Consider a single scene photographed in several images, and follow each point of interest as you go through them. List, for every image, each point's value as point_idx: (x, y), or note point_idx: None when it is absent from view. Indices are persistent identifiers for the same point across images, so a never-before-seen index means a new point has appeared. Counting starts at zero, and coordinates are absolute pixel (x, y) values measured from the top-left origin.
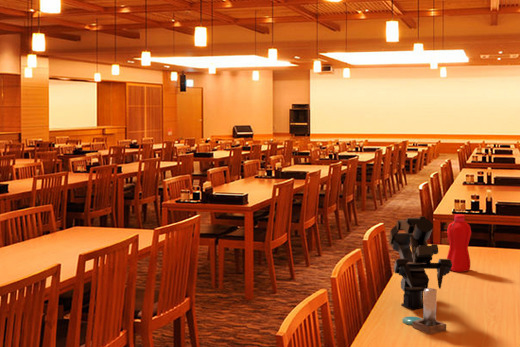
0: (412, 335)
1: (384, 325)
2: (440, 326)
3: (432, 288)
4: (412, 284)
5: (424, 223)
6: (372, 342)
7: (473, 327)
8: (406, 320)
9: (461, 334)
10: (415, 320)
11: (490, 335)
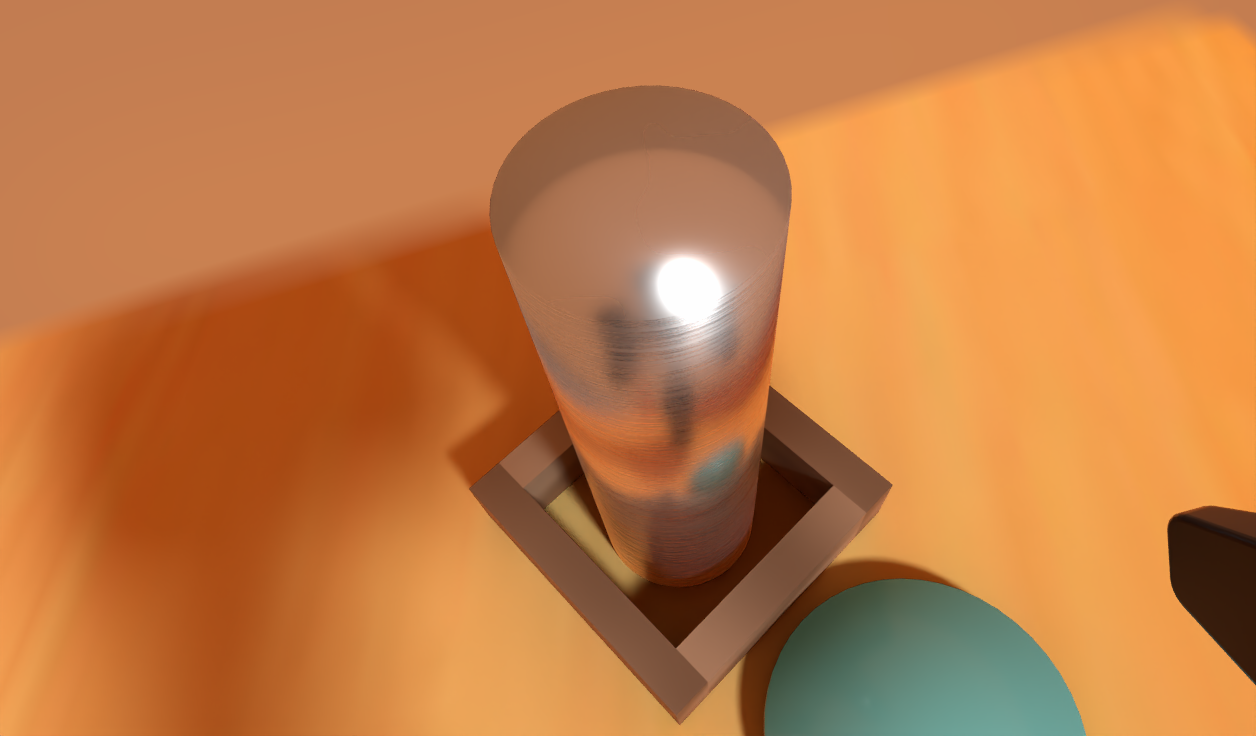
0: (831, 270)
1: (1231, 484)
2: (545, 428)
3: (584, 312)
4: (1242, 535)
5: None
6: (1125, 34)
7: (138, 731)
8: (1008, 669)
9: (344, 436)
10: (884, 708)
11: (52, 491)
